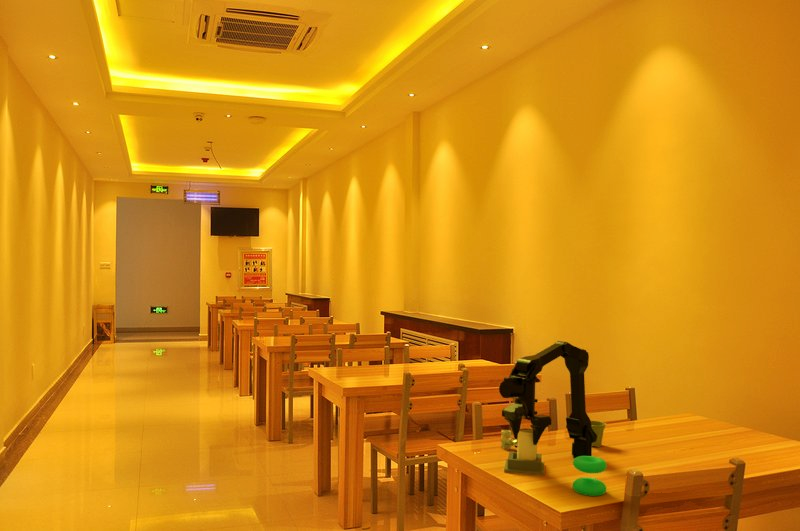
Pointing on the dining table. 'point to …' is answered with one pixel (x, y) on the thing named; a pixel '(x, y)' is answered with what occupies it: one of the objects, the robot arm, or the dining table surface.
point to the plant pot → (598, 432)
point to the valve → (507, 440)
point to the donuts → (589, 484)
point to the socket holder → (524, 465)
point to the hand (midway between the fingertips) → (525, 441)
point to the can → (526, 445)
